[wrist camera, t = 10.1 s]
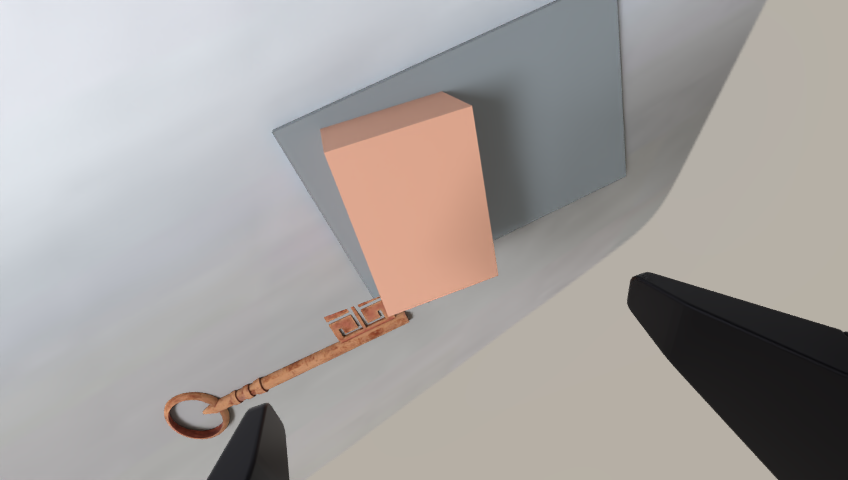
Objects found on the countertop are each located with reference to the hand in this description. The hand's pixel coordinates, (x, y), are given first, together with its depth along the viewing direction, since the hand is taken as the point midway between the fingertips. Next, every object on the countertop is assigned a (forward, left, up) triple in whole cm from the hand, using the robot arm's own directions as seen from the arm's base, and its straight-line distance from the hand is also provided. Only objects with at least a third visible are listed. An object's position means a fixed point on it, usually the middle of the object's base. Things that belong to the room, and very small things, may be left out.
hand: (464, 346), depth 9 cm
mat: (+1, +5, -11) cm, 12 cm away
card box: (+1, +1, -11) cm, 11 cm away
